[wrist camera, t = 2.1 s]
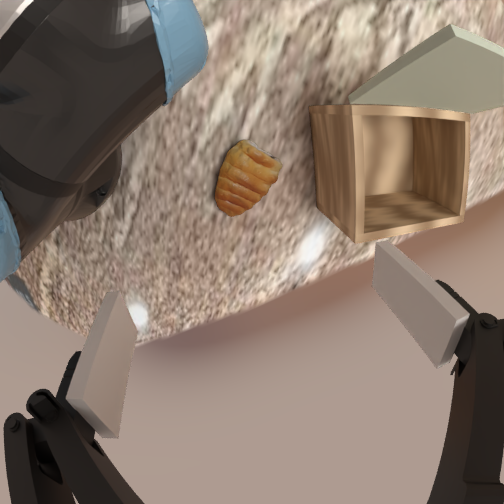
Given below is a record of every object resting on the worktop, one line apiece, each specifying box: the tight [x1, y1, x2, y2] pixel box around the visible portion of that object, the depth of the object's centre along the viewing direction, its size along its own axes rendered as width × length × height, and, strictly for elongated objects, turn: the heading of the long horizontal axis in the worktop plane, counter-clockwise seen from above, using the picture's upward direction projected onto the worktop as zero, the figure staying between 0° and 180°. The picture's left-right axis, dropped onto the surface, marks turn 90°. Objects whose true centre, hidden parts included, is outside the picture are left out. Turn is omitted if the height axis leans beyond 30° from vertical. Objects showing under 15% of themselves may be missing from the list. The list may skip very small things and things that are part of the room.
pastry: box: [215, 140, 282, 217], centre depth 35 cm, size 9×7×4 cm
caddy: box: [309, 105, 470, 244], centre depth 32 cm, size 17×14×12 cm
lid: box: [348, 24, 504, 114], centre depth 16 cm, size 18×14×2 cm
